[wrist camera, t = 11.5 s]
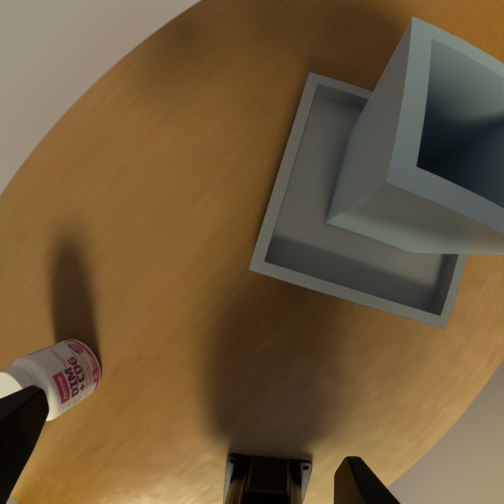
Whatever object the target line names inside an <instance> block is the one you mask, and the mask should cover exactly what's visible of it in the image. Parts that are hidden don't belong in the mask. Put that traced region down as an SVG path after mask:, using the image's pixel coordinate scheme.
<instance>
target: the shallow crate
mask: <svg viewBox="0 0 504 504" xmlns="http://www.w3.org/2000/svg"><path fill="white" fill-rule="evenodd" d="M371 94H372V91H370V90H367V89H364V88H361V87H358V86H355V85H352V84H349V83H346V82H342V81H339V80H336V79H333V78H329V77H326V76H322V75H319V74H315V73H311V72H309V75H308V78H307V81H306V84H305V88H304V91H303V94H302V97H301V101H300V104H299V107H298V110H297V114H296V117H295V120H294V123H293V127H292V130H291V133H290V136H289V140H288V143H287V146H286V149H285V153H284V156H283V159H282V162H281V166H280V169H279V172H278V175H277V178H276V182H275V185H274V188H273V191H272V195H271V198H270V201H269V204H268V208H267V211H266V214H265V217H264V221H263V224H262V227H261V230H260V233H259V237H258V240H257V243H256V246H255V250H254V253H253V256H252V259H251V262H250V266H249V269H248V270H251V271H254V272H257V273H261V274H264V275H267V276H270V277H273V278H276V279H280V280H283V281H286V282H289V283H292V284H296V285H299V286H302V287H305V288H308V289H312V290H315V291H318V292H321V293H325V294H328V295H331V296H334V297H338V298H341V299H344V300H348V301H351V302H354V303H358V304H361V305H364V306H367V307H371V308H374V309H377V310H381V311H384V312H388V313H391V314H394V315H398V316H401V317H404V318H408V319H411V320H415V321H418V322H422V323H425V324H428V325H432V326H435V327H439V328H442V329H446V326H447V323H448V320H449V317H450V314H451V311H452V308H453V305H454V302H455V298H456V295H457V292H458V288H459V285H460V281H461V277H462V274H463V270H464V266H465V262H466V258H467V254H435V253H408V252H405V251H403V250H400V249H397V248H394V247H391V246H388V245H386V244H383V243H380V242H377V241H374V240H371V239H368V238H365V237H362V236H360V235H357V234H354V233H351V232H348V231H345V230H342V229H339V228H336V227H333V226H330V225H326V224H324V223H325V219H326V216H327V213H328V209H329V206H330V202H331V199H332V195H333V192H334V188H335V185H336V181H337V177H338V174H339V170H340V166H341V163H342V159H343V155H344V151H345V147H346V144H347V140H348V136H349V135H350V133H351V131H352V129H353V127H354V126H355V124H356V122H357V120H358V118H359V116H360V115H361V113H362V111H363V109H364V107H365V105H366V104H367V102H368V100H369V98H370V96H371Z"/></svg>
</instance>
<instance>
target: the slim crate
mask: <svg viewBox="0 0 504 504" xmlns="http://www.w3.org/2000/svg"><path fill="white" fill-rule="evenodd" d="M324 224H326V225H330V226H333V227H336V228H339V229H342V230H345V231H348V232H351V233H354V234H357V235H360V236H362V237H365V238H368V239H371V240H374V241H377V242H380V243H383V244H386V245H388V246H391V247H394V248H397V249H400V250H403V251H405V252H408V253H435V254H486V255H504V64H503V63H501V62H500V61H498V60H497V59H495V58H493V57H492V56H490V55H489V54H487V53H485V52H483V51H482V50H480V49H478V48H477V47H475V46H473V45H471V44H469V43H468V42H466V41H464V40H462V39H460V38H458V37H456V36H454V35H452V34H450V33H448V32H446V31H444V30H442V29H440V28H438V27H436V26H434V25H431V24H429V23H427V22H425V21H422V20H420V19H418V18H415V17H413V16H412V18H411V20H410V22H409V24H408V26H407V28H406V30H405V32H404V34H403V36H402V38H401V39H400V41H399V43H398V45H397V47H396V49H395V51H394V53H393V55H392V57H391V59H390V60H389V62H388V64H387V66H386V68H385V70H384V72H383V74H382V76H381V77H380V79H379V81H378V83H377V85H376V87H375V89H374V91H373V92H372V94H371V96H370V98H369V100H368V102H367V104H366V105H365V107H364V109H363V111H362V113H361V115H360V116H359V118H358V120H357V122H356V124H355V126H354V127H353V129H352V131H351V133H350V135H349V136H348V140H347V144H346V147H345V151H344V155H343V159H342V163H341V166H340V170H339V174H338V177H337V181H336V185H335V188H334V192H333V195H332V199H331V202H330V206H329V209H328V213H327V216H326V219H325V223H324Z"/></svg>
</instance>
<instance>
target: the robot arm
mask: <svg viewBox="0 0 504 504" xmlns="http://www.w3.org/2000/svg"><path fill="white" fill-rule="evenodd" d="M48 414H49V404H48V401H47V397H46V393H45V391H44V389H42V388H40V387H38V386H36V385H30V386H28V387H26V388H23V389H21V390H19V391H16V392H14V393H12V394H9V395H7V396H5V397H2V398H0V504H6V502H7V500H8V498H9V496H10V494H11V492H12V490H13V488H14V486H15V484H16V482H17V480H18V478H19V477H20V475H21V473H22V471H23V469H24V467H25V465H26V463H27V461H28V460H29V458H30V456H31V454H32V452H33V450H34V448H35V445H36V443H37V441H38V438H39V436H40V433H41V431H42V428H43V426H44V424H45V421H46V419H47V417H48ZM231 459H235V461H233V460H231ZM303 466H308V467H303ZM311 472H312V463H311V462H310V461H308V460H292V459H281V458H270V457H260V456H249V455H241V454H229V455H228V457H227V460H226V473H225V485H224V498H223V504H303V501H304V498H305V494H306V491H307V487H308V483H309V479H310V475H311ZM334 504H400V503H399V501H398V500H397V499H396V498H395V497H394V496H393V495H392V494H391V493H390V491H389V490H388V489H387V488H386V487H385V486H384V484H383V483H382V482H381V481H380V480H379V479H378V477H377V476H376V475H375V474H374V473H373V472H372V470H371V469H370V468H369V467H368V466H367V465H366V463H365V462H364V461H363V460H362V459H361V458H360V457H357V456H348V457H346V458H345V459H344V460H343V461H342V463H341V464H340V466H339V467H338V469H337V470H336V472H335V476H334Z"/></svg>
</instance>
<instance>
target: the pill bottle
mask: <svg viewBox="0 0 504 504" xmlns="http://www.w3.org/2000/svg"><path fill="white" fill-rule="evenodd" d="M100 380H101V369H100V365H99V362H98V360H97V358H96V356H95V355H94V353H93V352H92V350H91V349H90V348H89V347H88V346H87V345H85V344H84V343H82V342H80V341H78V340H74V339H68V340H64V341H62V342H59V343H56V344H54V345H51V346H49V347H46V348H44V349H41V350H38V351H36V352H33V353H31V354H28V355H25V356H23V357H20V358H19V359H17V360H16V361H15V362H14V363H13V365H12V367H8V368H6V369H4V370H2V371H0V398H2V397H5V396H7V395H9V394H12V393H14V392H16V391H19V390H21V389H23V388H26V387H28V386H30V385H36V386H38V387H40V388H42V389H44V391H45V393H46V397H47V401H48V404H49V414H48V417H47V419H46V421H50V420H53V419H54V418H56V417H58V416H59V415H61V414H62V413H64V412H65V411H67V410H68V409H70V408H71V407H72V406H74V405H75V404H77V403H78V402H80V401H81V400H82V399H84V398H85V397H87V396H88V395H89V394H91V393H92V392H93V391H95V390H96V389H97V387H98V386H99V384H100Z"/></svg>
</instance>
